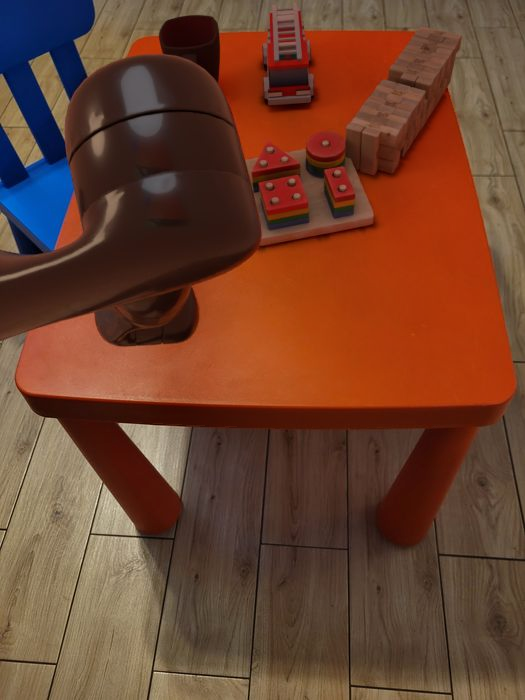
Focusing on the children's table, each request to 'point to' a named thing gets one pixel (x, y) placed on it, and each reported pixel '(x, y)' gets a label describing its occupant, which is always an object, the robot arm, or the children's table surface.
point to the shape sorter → (307, 190)
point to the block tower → (402, 102)
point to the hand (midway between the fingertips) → (128, 114)
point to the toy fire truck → (287, 59)
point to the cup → (193, 41)
